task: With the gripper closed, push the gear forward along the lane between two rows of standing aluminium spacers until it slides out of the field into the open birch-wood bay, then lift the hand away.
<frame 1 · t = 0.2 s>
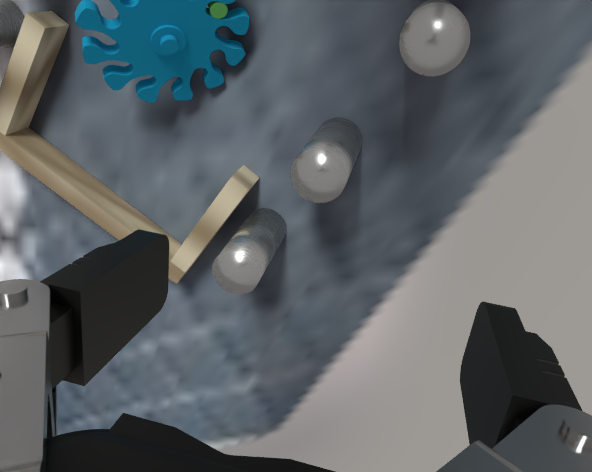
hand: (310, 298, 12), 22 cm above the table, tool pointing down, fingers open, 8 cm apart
spacer field: (198, 24, 32), on the table
bay: (131, 145, 37), on the table
gear: (200, 23, 32), on the table
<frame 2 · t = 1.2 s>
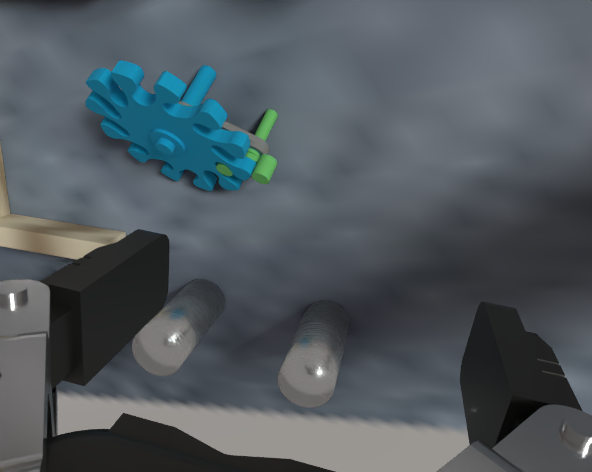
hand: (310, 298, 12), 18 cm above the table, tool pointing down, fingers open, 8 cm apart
spacer field: (205, 131, 31), on the table
bay: (55, 114, 33), on the table
gear: (208, 128, 31), on the table
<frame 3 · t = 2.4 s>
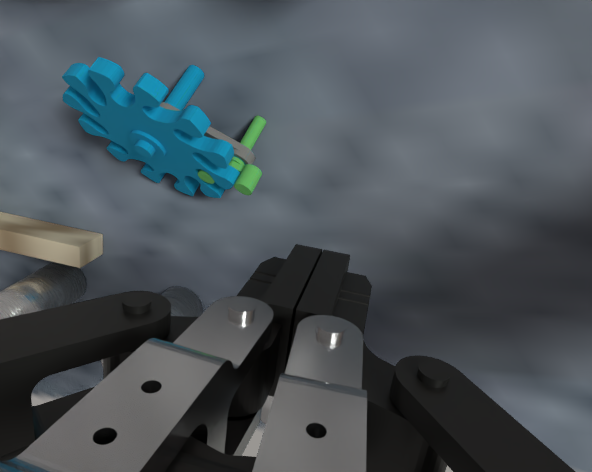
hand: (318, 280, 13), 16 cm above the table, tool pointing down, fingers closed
spacer field: (188, 135, 29), on the table
bay: (33, 108, 31), on the table
gear: (193, 130, 29), on the table
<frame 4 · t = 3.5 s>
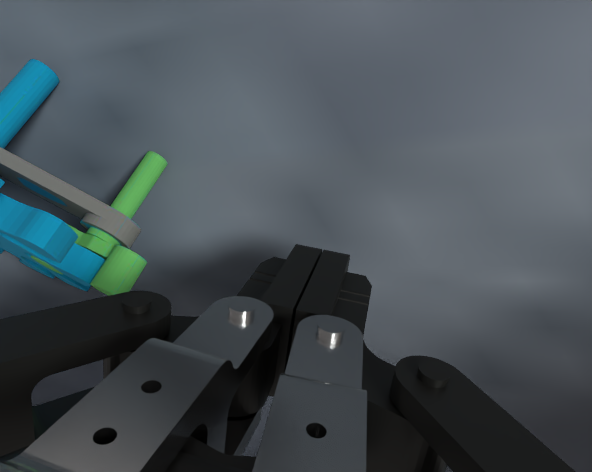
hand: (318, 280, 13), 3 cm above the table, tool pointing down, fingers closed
gear: (53, 170, 18), on the table
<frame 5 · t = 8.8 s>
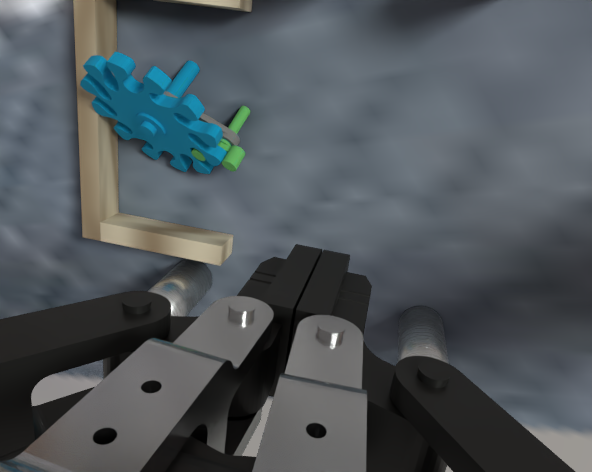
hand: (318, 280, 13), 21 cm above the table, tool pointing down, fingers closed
spacer field: (325, 146, 33), on the table
bay: (178, 122, 35), on the table
gear: (188, 116, 35), on the table
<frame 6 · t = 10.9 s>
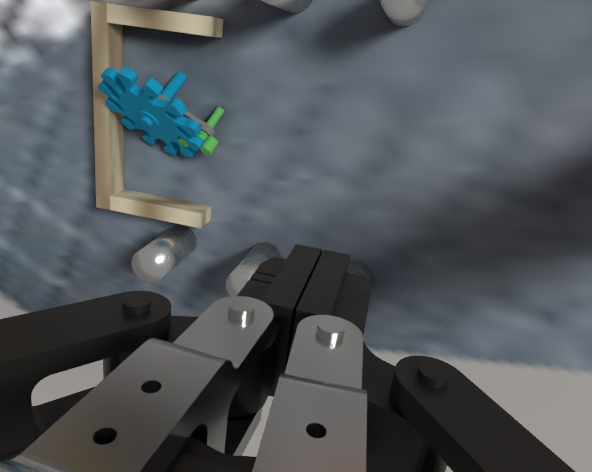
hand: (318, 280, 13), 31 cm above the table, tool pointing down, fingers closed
spacer field: (278, 137, 44), on the table
bay: (169, 119, 46), on the table
gear: (177, 113, 46), on the table
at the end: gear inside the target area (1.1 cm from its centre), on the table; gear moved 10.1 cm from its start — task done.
